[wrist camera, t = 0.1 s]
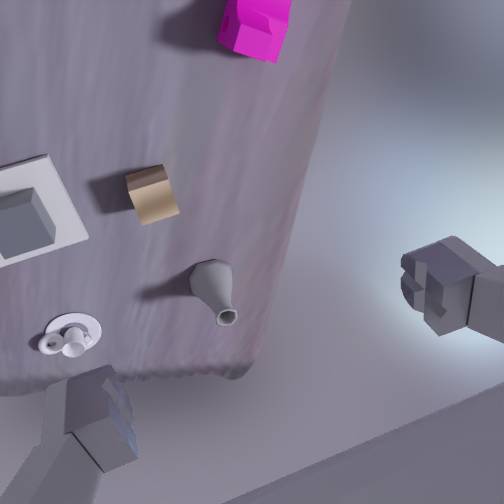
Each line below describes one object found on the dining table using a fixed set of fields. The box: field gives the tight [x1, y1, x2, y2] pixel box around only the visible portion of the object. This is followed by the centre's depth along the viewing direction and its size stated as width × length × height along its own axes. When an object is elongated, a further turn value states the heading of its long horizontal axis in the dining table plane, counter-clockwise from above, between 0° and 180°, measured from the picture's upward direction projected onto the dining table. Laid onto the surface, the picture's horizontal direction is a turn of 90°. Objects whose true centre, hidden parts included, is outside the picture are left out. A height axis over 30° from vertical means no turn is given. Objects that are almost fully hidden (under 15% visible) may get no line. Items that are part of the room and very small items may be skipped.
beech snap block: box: [125, 164, 180, 226], centre depth 57 cm, size 5×5×5 cm
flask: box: [189, 259, 237, 327], centre depth 66 cm, size 7×7×10 cm
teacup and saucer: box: [38, 313, 101, 357], centre depth 66 cm, size 9×8×4 cm
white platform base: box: [0, 154, 89, 267], centre depth 54 cm, size 12×12×5 cm
